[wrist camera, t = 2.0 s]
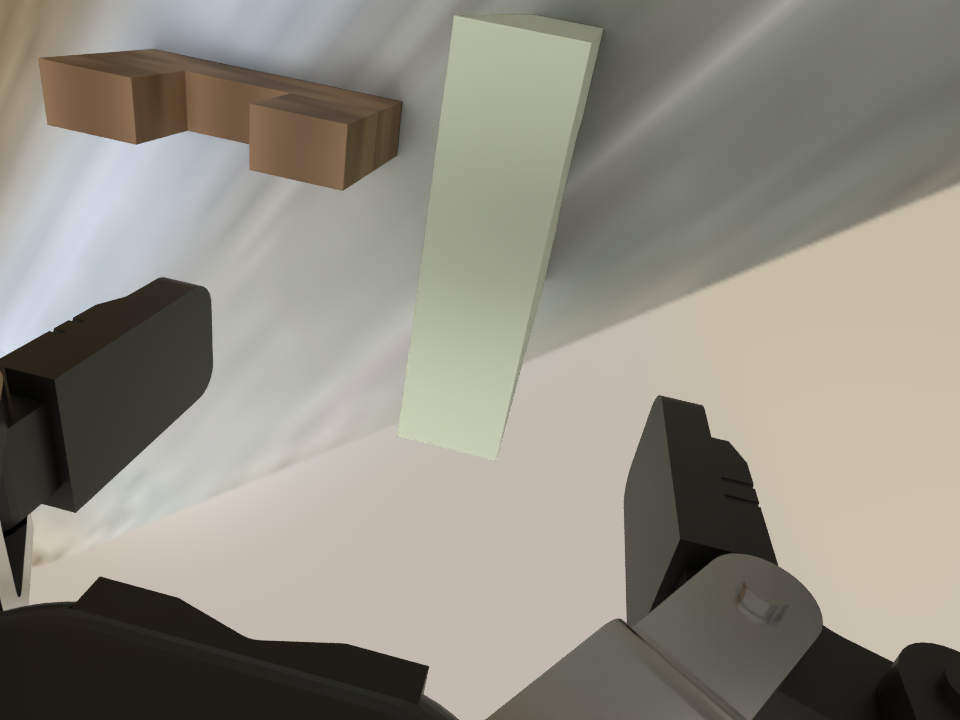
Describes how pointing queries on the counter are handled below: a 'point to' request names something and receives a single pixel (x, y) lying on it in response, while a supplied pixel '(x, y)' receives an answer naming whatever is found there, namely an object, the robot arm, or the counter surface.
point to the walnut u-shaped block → (224, 111)
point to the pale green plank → (491, 220)
